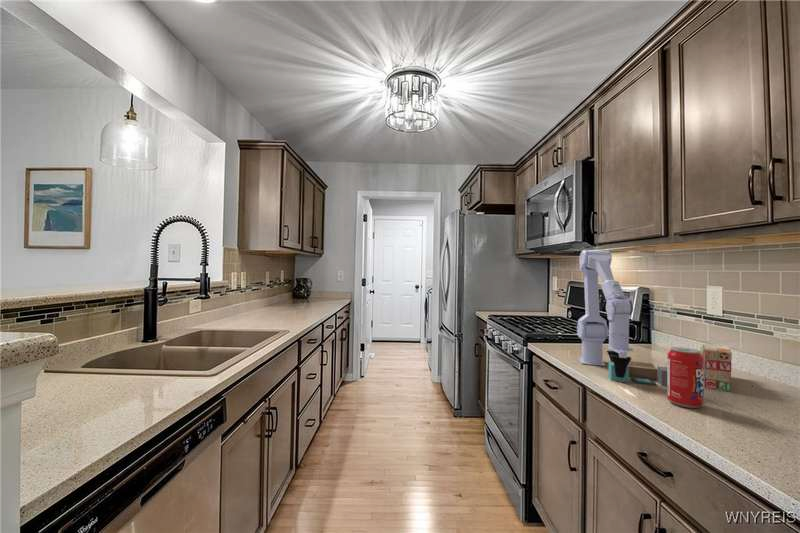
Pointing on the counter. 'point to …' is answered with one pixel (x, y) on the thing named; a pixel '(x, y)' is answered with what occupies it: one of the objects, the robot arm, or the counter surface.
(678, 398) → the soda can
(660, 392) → the counter surface
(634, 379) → the mat
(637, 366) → the walnut block
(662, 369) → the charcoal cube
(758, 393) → the counter surface
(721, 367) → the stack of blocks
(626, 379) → the teal cube
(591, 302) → the robot arm
